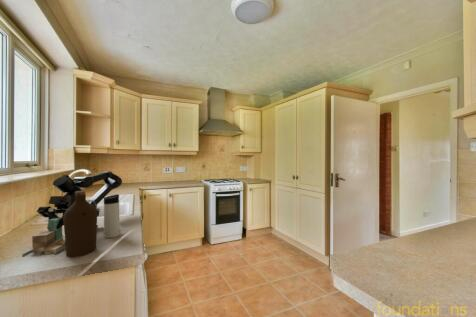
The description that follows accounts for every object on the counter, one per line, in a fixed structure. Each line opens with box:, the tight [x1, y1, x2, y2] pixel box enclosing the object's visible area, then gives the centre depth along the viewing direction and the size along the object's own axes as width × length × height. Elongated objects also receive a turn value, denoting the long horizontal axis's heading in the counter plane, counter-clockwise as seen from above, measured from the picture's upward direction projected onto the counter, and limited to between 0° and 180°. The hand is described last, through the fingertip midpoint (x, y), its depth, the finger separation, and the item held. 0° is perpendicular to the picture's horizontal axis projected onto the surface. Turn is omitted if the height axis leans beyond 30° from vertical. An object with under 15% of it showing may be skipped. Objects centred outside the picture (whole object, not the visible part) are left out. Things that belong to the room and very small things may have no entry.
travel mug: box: [103, 194, 121, 239], centre depth 97 cm, size 6×7×20 cm
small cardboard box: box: [45, 245, 63, 254], centre depth 81 cm, size 4×4×2 cm
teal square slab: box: [32, 217, 63, 252], centre depth 85 cm, size 4×10×10 cm, turn 4°
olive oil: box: [63, 190, 98, 259], centre depth 80 cm, size 11×11×25 cm
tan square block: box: [56, 240, 65, 247], centre depth 86 cm, size 4×4×2 cm
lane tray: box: [21, 234, 66, 257], centre depth 87 cm, size 12×19×2 cm, turn 4°
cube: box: [31, 230, 55, 249], centre depth 83 cm, size 5×5×5 cm
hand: (52, 228), depth 87 cm, fingers closed on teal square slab, 3 cm apart
